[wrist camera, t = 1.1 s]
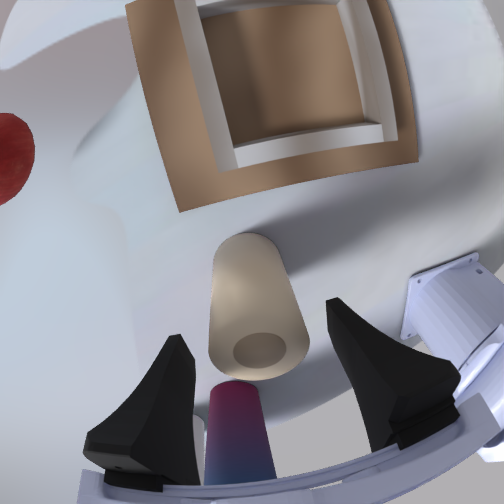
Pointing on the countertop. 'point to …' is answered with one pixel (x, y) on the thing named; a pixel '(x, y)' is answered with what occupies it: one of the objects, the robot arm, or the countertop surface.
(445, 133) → the countertop surface
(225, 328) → the roll
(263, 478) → the cup
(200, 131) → the holder
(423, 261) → the countertop surface
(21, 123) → the red round fruit
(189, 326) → the countertop surface
